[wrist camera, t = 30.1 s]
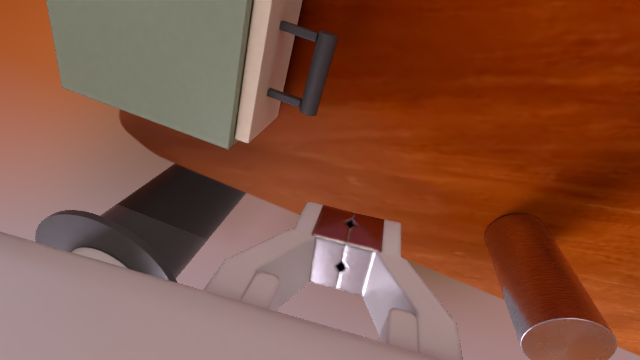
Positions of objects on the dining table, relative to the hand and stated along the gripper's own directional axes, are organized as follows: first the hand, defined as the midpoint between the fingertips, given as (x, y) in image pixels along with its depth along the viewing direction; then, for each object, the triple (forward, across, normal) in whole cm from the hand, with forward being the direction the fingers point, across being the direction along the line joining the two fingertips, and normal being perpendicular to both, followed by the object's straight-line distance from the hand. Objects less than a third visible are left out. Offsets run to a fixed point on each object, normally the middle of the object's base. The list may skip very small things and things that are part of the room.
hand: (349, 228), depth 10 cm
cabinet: (+21, +17, -3) cm, 27 cm away
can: (+21, -16, +12) cm, 29 cm away
